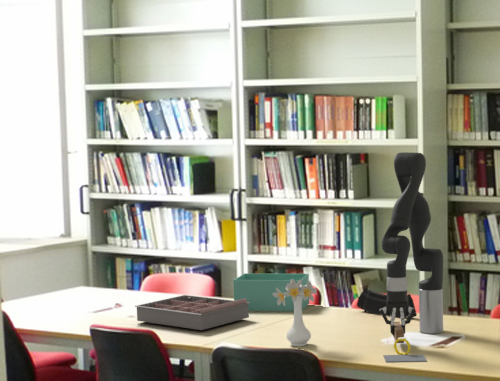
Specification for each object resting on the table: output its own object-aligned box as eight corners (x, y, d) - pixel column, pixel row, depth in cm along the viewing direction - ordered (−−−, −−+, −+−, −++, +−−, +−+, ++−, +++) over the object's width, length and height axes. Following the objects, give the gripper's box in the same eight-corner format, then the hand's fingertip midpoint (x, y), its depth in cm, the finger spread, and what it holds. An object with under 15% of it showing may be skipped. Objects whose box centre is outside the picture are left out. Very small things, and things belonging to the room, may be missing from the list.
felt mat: (383, 356, 309) (383, 355, 309) (423, 355, 309) (423, 354, 309) (386, 362, 300) (386, 361, 300) (426, 361, 300) (426, 360, 300)
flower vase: (269, 347, 328) (267, 281, 327) (301, 338, 341) (299, 275, 340) (296, 352, 319) (293, 284, 318) (327, 342, 332) (325, 278, 331)
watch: (393, 354, 312) (392, 338, 312) (397, 353, 314) (395, 336, 314) (408, 355, 308) (406, 338, 308) (412, 354, 311) (410, 337, 311)
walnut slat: (392, 333, 331) (391, 321, 330) (399, 333, 330) (399, 321, 330) (396, 343, 317) (396, 331, 316) (404, 343, 317) (404, 331, 316)
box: (301, 311, 398) (300, 280, 397) (234, 310, 406) (233, 279, 405) (309, 303, 418) (308, 273, 417) (245, 302, 426) (244, 273, 425)
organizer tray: (185, 311, 407) (184, 290, 406) (251, 320, 381) (250, 298, 381) (134, 324, 382) (133, 301, 381) (202, 334, 356) (201, 310, 356)
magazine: (421, 298, 371) (367, 272, 391) (416, 299, 369) (363, 273, 389) (412, 334, 376) (359, 307, 396) (408, 336, 373) (355, 308, 394)
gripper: (414, 286, 326) (415, 332, 327) (377, 287, 327) (378, 333, 328) (417, 290, 319) (418, 336, 319) (378, 290, 319) (380, 337, 320)
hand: (397, 334), depth 324 cm, fingers closed on walnut slat, 2 cm apart
